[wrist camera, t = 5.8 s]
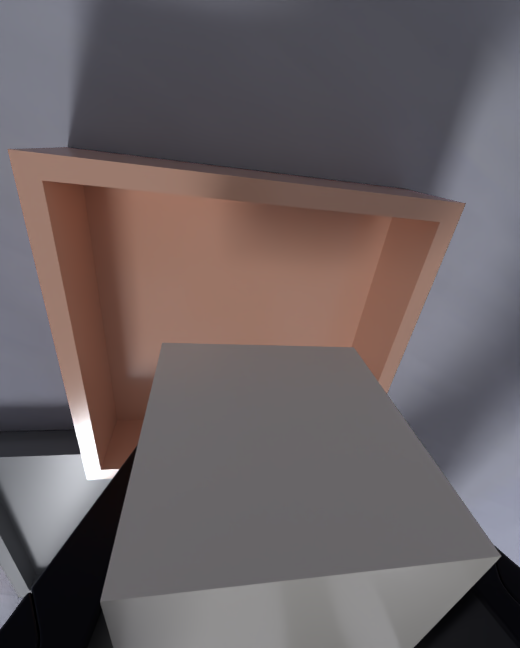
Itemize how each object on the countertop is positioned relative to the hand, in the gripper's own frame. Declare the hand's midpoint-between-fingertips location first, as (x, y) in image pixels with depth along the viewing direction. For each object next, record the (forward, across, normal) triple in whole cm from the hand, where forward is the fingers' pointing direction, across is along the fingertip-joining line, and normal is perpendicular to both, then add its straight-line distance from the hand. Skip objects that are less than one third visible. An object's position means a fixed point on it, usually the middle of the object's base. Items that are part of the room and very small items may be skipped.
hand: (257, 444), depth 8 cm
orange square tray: (+7, 0, 0) cm, 7 cm away
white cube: (+1, 0, 0) cm, 1 cm away
